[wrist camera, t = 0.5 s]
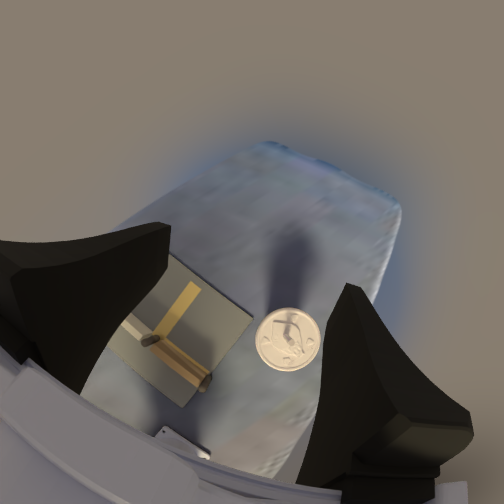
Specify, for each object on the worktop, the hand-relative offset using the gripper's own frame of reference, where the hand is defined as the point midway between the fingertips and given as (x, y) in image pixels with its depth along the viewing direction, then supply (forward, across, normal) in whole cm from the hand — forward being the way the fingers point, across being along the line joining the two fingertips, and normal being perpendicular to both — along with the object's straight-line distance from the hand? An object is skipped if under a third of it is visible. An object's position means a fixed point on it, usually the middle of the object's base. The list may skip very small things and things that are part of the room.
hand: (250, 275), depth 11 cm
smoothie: (+19, -3, +19) cm, 27 cm away
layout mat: (+15, +11, +22) cm, 29 cm away
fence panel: (+14, +16, +22) cm, 31 cm away
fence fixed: (+13, +7, +25) cm, 29 cm away
